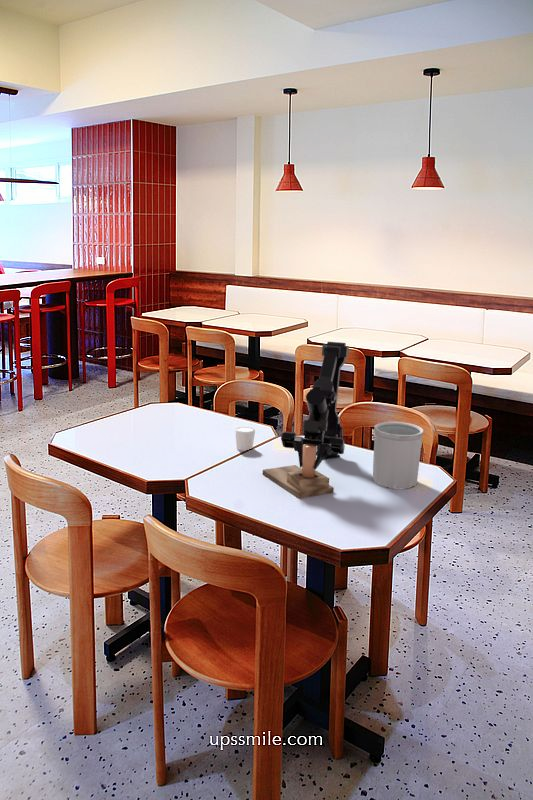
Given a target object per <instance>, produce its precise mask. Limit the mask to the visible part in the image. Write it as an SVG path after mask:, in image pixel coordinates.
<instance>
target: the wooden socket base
mask: <svg viewBox="0 0 533 800" xmlns="http://www.w3.org/2000/svg"><path fill="white" fill-rule="evenodd" d="M264 475H265V476H264ZM301 475H302V467H301V468H300V466H298V465H295V464H293V465H292V464H291V465H286V466H280V467H279V466H277V467H274V468H272V467H271V468H266V469H262V476H264V477H266V478H267V477H268V479H269V480H270V481H272V482H273V483H275V484H277V485H278V486H279V487H281V488H283V489H284V490H286V492H289V493H290V494H292V495H293V496H294V497H296V498H298V499H303V498H310V497H314V496H321V495H327V494H333V493H334V491H335V488H334V487H335V486H334V487H333V486H332V485H330V477H328V476H326V475H324V474H323V473H321V472H319V471H317V469H315V478H309V479H305V478H303V477H301Z"/></svg>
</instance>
